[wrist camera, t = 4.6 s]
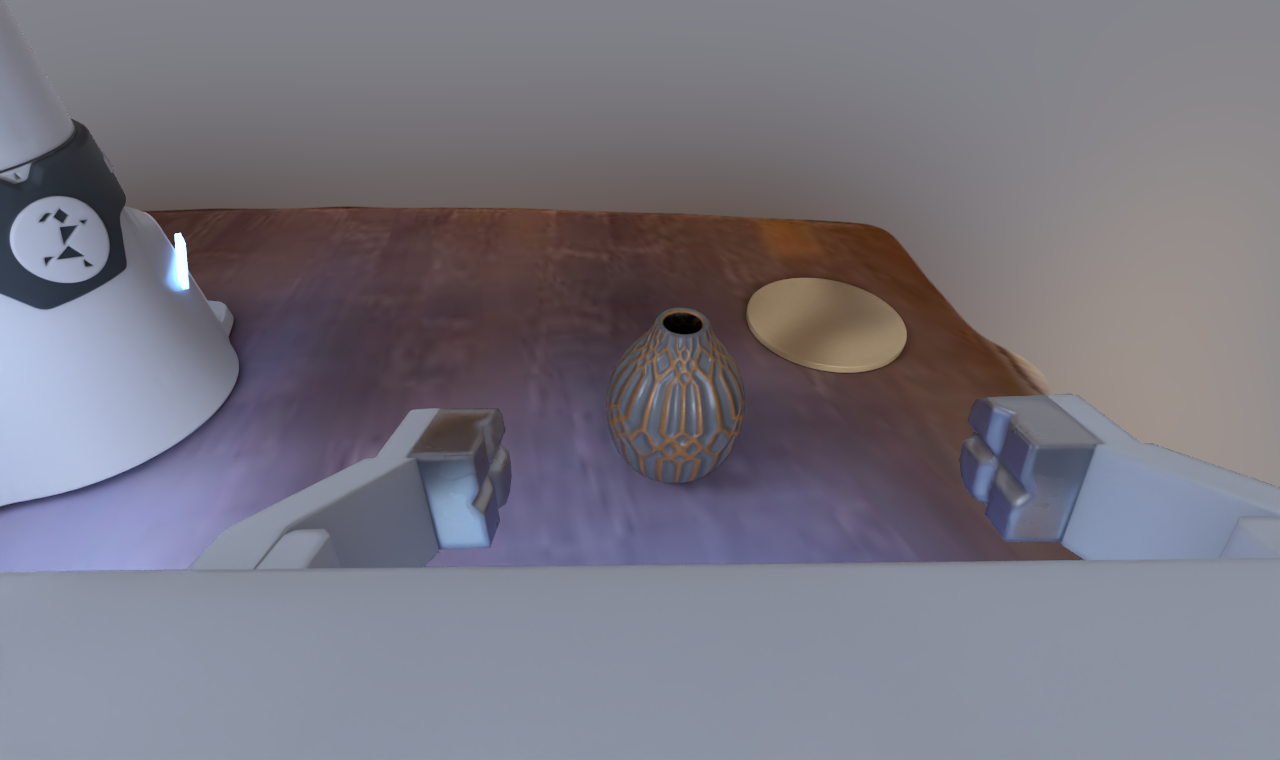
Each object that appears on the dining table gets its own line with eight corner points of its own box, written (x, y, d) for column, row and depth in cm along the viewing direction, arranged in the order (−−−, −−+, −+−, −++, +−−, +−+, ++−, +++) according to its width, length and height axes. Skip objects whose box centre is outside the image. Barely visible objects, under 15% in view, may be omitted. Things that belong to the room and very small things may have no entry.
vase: (609, 409, 35) (609, 278, 30) (726, 412, 35) (749, 283, 30) (603, 504, 30) (601, 367, 24) (741, 507, 30) (772, 372, 25)
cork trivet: (735, 354, 40) (736, 348, 39) (756, 273, 48) (757, 267, 48) (909, 387, 38) (912, 381, 37) (900, 297, 46) (902, 291, 46)
